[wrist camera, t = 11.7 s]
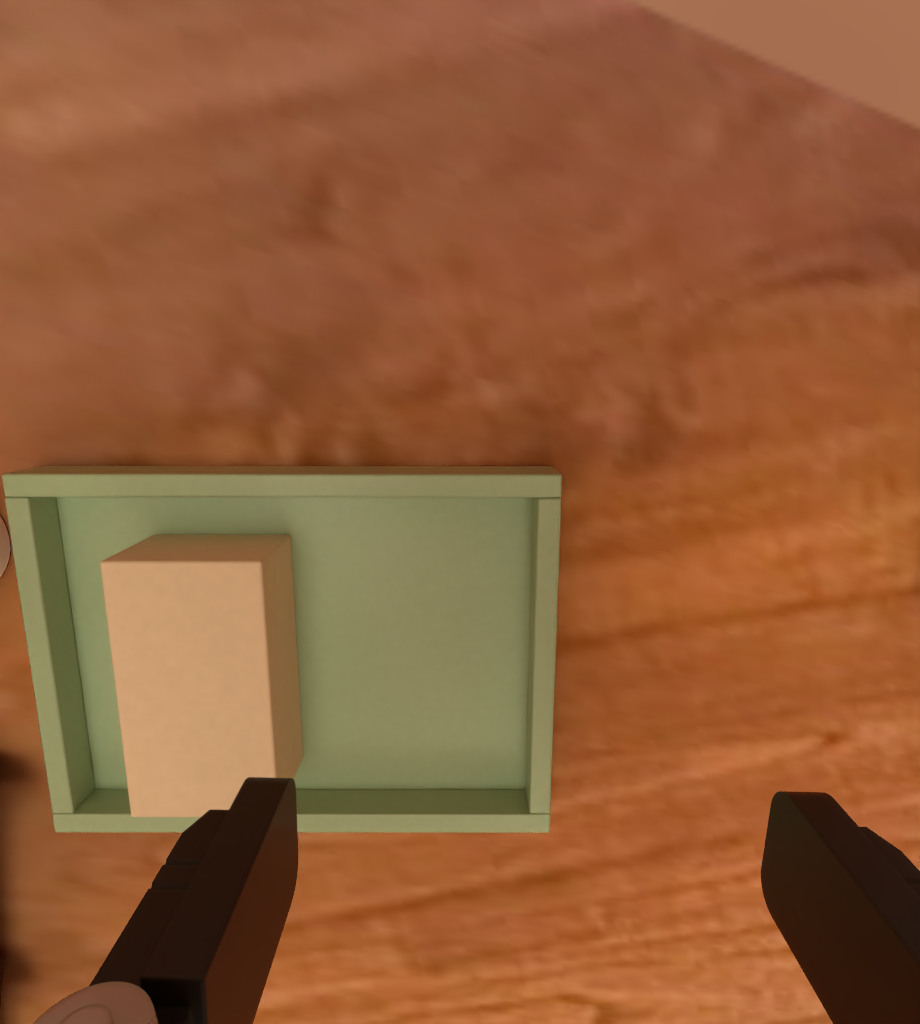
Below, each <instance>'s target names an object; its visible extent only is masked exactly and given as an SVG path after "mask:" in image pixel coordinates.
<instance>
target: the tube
mask: <svg viewBox="0 0 920 1024" xmlns="http://www.w3.org/2000/svg"><path fill="white" fill-rule="evenodd" d="M9 557H10V540H9V535H8V532H7V529H6V526H5V524H4V522H3V520H2V518H1V516H0V577H1V576H2V574H3V572H4V571H5V569H6V567H7V564H8V561H9Z"/></svg>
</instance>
